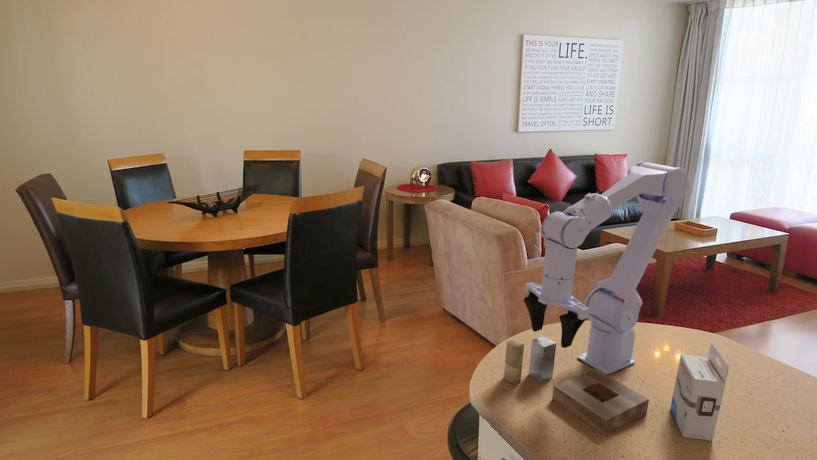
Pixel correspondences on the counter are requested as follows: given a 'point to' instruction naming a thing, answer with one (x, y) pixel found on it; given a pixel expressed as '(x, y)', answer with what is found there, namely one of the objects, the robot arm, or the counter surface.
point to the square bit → (542, 358)
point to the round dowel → (513, 361)
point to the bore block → (599, 415)
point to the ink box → (699, 394)
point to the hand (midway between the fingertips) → (551, 337)
